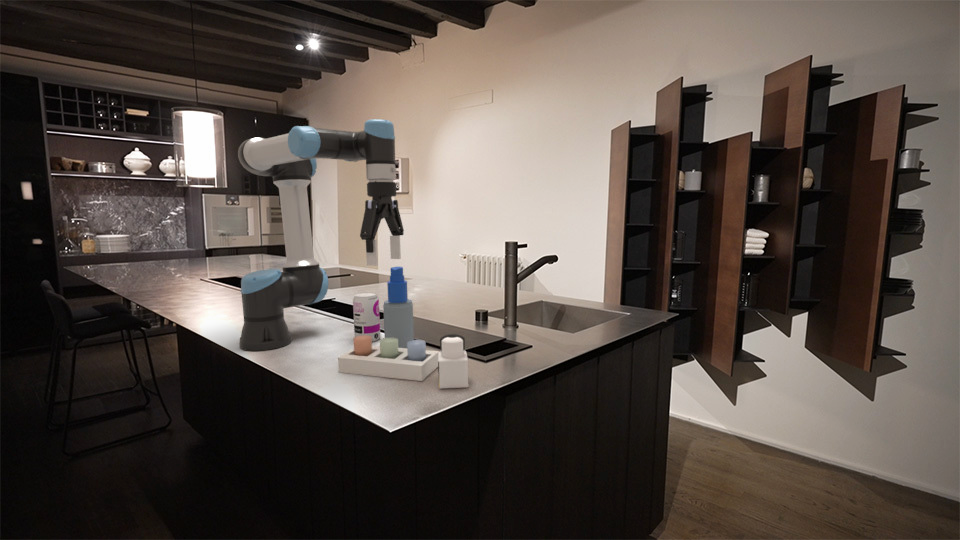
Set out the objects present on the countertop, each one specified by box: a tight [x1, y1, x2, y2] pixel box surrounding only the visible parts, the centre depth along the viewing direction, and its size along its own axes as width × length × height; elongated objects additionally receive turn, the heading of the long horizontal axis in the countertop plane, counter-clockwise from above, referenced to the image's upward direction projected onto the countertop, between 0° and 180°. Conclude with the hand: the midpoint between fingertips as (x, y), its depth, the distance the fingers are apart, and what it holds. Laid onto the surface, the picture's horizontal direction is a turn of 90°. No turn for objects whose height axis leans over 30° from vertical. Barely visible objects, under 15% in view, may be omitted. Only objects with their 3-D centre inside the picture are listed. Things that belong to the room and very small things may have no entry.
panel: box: [337, 344, 440, 382], centre depth 130 cm, size 24×12×4 cm, turn 73°
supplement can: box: [352, 292, 381, 343], centre depth 157 cm, size 8×8×15 cm
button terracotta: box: [353, 335, 373, 356], centre depth 132 cm, size 5×5×5 cm
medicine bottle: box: [437, 333, 469, 390], centre depth 119 cm, size 7×7×12 cm
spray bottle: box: [383, 266, 415, 348], centre depth 147 cm, size 9×9×25 cm
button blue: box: [407, 339, 427, 362], centre depth 127 cm, size 5×5×5 cm
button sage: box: [379, 337, 399, 359], centre depth 130 cm, size 5×5×5 cm
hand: (384, 262), depth 129 cm, fingers open, 13 cm apart
